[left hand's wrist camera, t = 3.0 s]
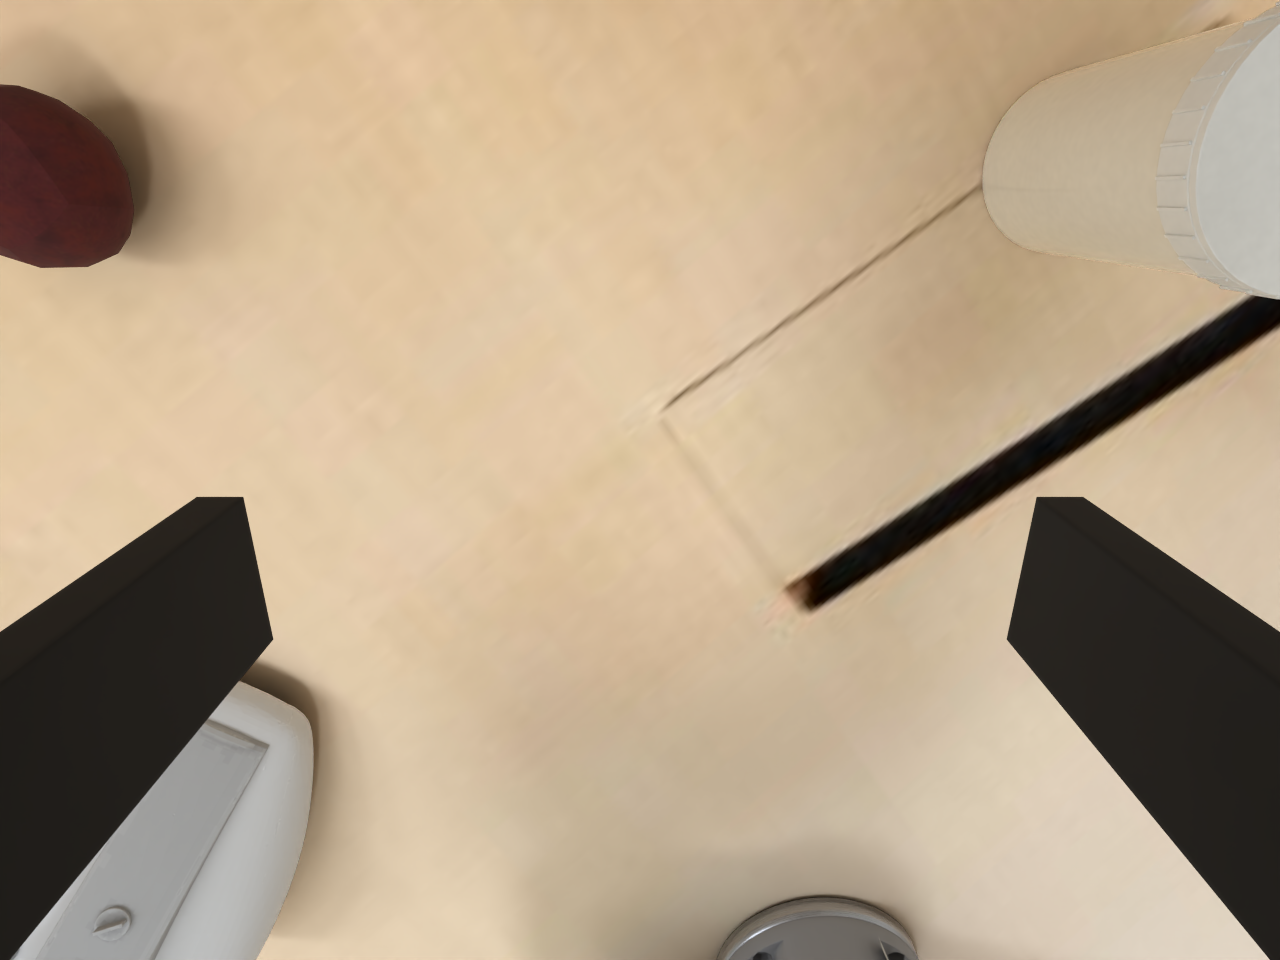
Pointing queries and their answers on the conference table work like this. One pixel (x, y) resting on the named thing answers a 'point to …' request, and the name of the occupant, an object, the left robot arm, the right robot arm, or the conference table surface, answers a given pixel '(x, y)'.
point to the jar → (1094, 156)
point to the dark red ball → (58, 184)
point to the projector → (197, 848)
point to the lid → (1228, 164)
